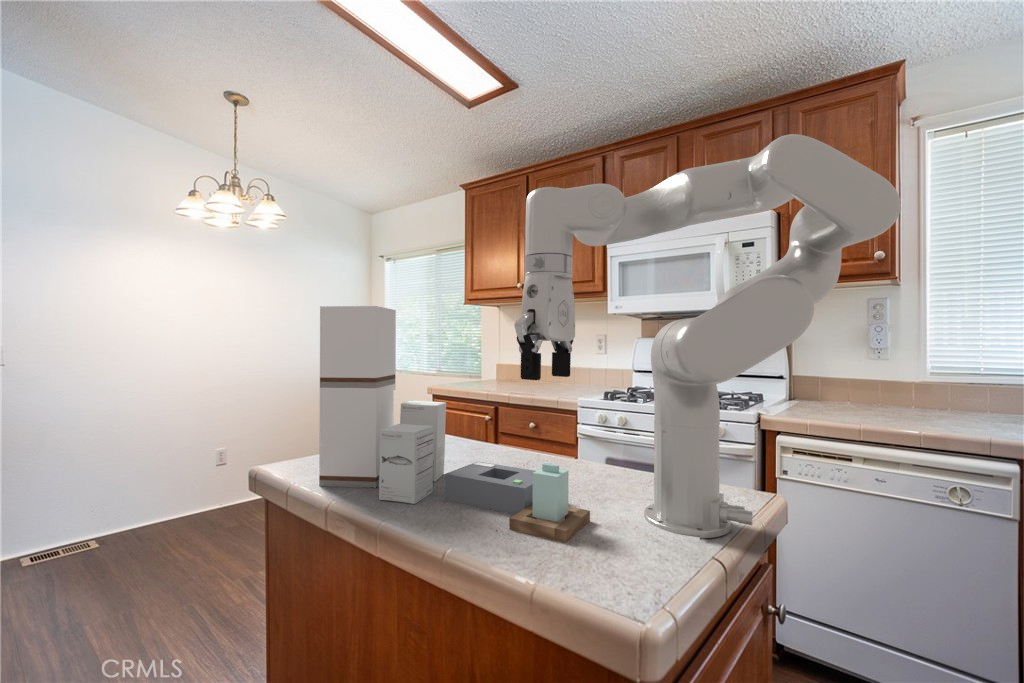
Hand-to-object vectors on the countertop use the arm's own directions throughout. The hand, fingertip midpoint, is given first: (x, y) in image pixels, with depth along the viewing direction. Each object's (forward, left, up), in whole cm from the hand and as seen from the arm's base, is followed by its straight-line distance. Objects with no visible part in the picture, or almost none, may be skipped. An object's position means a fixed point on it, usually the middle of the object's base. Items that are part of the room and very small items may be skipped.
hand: (546, 377), depth 74 cm
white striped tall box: (+43, 0, -23) cm, 48 cm away
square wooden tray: (-2, +3, -22) cm, 23 cm away
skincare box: (+33, -8, -23) cm, 41 cm away
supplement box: (+27, +3, -23) cm, 35 cm away
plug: (-2, +3, -22) cm, 22 cm away
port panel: (+11, -3, -22) cm, 25 cm away
